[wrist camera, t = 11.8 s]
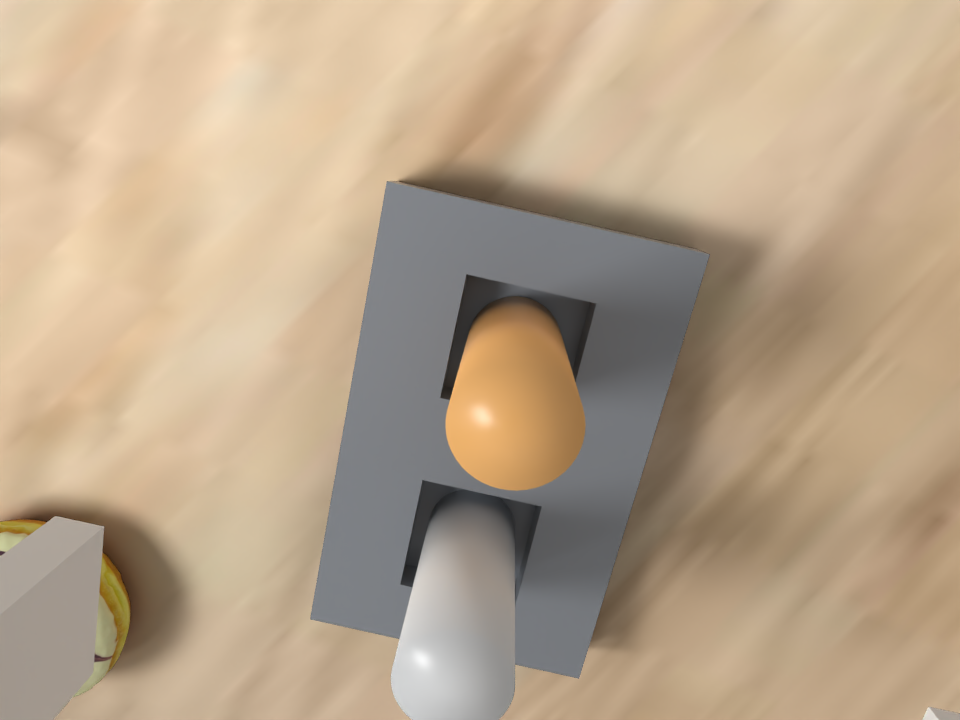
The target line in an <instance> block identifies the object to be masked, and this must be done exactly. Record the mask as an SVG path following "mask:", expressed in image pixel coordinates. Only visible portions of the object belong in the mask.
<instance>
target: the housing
mask: <svg viewBox="0 0 960 720" xmlns="http://www.w3.org/2000/svg"><path fill="white" fill-rule="evenodd" d="M709 256H710V254H708V253H705V252H702V251H700V250H697V249H694V248H690V247H685V246H681V245H677V244H672V243H668V242H663V241H659V240H654V239H650V238H646V237H641V236H637V235H632V234H628V233H624V232H619V231H615V230H610V229H606V228H601V227H597V226H593V225H588V224H584V223H579V222H575V221H571V220H566V219H562V218H557V217H553V216H548V215H544V214H540V213H535V212H531V211H526V210H522V209H518V208H513V207H509V206H504V205H500V204H495V203H491V202H487V201H482V200H478V199H473V198H469V197H465V196H460V195H456V194H451V193H447V192H442V191H438V190H434V189H429V188H425V187H420V186H416V185H412V184H407V183H403V182H398V181H387V184H386V189H385V195H384V201H383V207H382V212H381V218H380V224H379V229H378V235H377V241H376V247H375V252H374V258H373V264H372V269H371V275H370V281H369V287H368V292H367V298H366V304H365V309H364V315H363V321H362V326H361V332H360V338H359V344H358V349H357V355H356V361H355V366H354V372H353V378H352V384H351V389H350V395H349V401H348V406H347V412H346V418H345V424H344V429H343V435H342V441H341V446H340V452H339V458H338V463H337V469H336V475H335V481H334V486H333V492H332V498H331V503H330V509H329V515H328V521H327V526H326V532H325V538H324V543H323V549H322V555H321V561H320V566H319V572H318V578H317V583H316V589H315V595H314V601H313V606H312V612H311V618H310V619H311V620H316V621H321V622H325V623H330V624H334V625H339V626H343V627H348V628H352V629H357V630H361V631H366V632H370V633H375V634H379V635H384V636H389V637H393V638H398V639H400V635H401V631H402V627H403V623H404V619H405V615H406V611H407V607H408V603H409V599H410V595H411V591H412V587H413V583H414V579H415V576H416V572H417V568H418V564H419V560H420V556H421V552H422V548H423V544H424V540H425V536H426V532H427V528H428V524H429V520H430V516H431V513H432V511H433V509H434V507H435V506H436V504H437V503H438V502H439V501H440V500H441V499H442V498H443V497H445V496H446V495H448V494H450V493H452V492H454V491H457V490H461V489H465V490H469V491H474V492H478V493H483V494H487V495H492V496H496V497H498V498H500V499H501V500H502V501H503V502H504V503H505V504H506V505H507V507H508V508H509V510H510V511H511V513H512V516H513V519H514V524H515V665H520V666H525V667H529V668H534V669H538V670H543V671H547V672H552V673H556V674H561V675H565V676H570V677H574V678H579V677H580V673H581V670H582V667H583V664H584V661H585V657H586V654H587V651H588V648H589V644H590V641H591V638H592V635H593V631H594V628H595V625H596V622H597V618H598V615H599V612H600V609H601V605H602V602H603V599H604V596H605V592H606V589H607V586H608V583H609V580H610V576H611V573H612V570H613V567H614V563H615V560H616V557H617V554H618V550H619V547H620V544H621V541H622V537H623V534H624V531H625V528H626V524H627V521H628V518H629V515H630V511H631V508H632V505H633V502H634V499H635V495H636V492H637V489H638V486H639V482H640V479H641V476H642V473H643V469H644V466H645V463H646V460H647V456H648V453H649V450H650V447H651V443H652V440H653V437H654V434H655V430H656V427H657V424H658V421H659V418H660V414H661V411H662V408H663V405H664V401H665V398H666V395H667V392H668V388H669V385H670V382H671V379H672V375H673V372H674V369H675V366H676V362H677V359H678V356H679V353H680V349H681V346H682V343H683V340H684V337H685V333H686V330H687V327H688V324H689V320H690V317H691V314H692V311H693V307H694V304H695V301H696V298H697V294H698V291H699V288H700V285H701V281H702V278H703V275H704V272H705V268H706V265H707V262H708V259H709ZM510 296H520V297H526V298H529V299H532V300H534V301H537V302H538V303H540V304H542V305H543V306H544V307H546V308H547V309H548V310H549V311H550V312H551V313H552V315H553V316H554V318H555V319H556V321H557V323H558V326H559V329H560V332H561V335H562V339H563V342H564V345H565V349H566V352H567V355H568V359H569V362H570V366H571V369H572V372H573V376H574V379H575V382H576V386H577V389H578V392H579V396H580V399H581V403H582V406H583V410H584V415H585V424H586V426H585V436H584V441H583V444H582V447H581V450H580V452H579V454H578V455H577V457H576V459H575V460H574V462H573V463H572V465H571V466H570V467H569V468H568V469H567V470H566V471H565V472H564V473H563V474H561V475H560V476H559V477H558V478H556V479H554V480H553V481H551V482H549V483H547V484H545V485H543V486H540V487H537V488H533V489H528V490H518V491H516V490H504V489H499V488H495V487H492V486H489V485H487V484H484V483H482V482H480V481H479V480H477V479H475V478H474V477H473V476H471V475H470V474H469V473H467V472H466V471H465V470H464V469H463V468H462V467H461V465H460V464H459V463H458V461H457V460H456V458H455V457H454V455H453V453H452V451H451V449H450V447H449V444H448V440H447V436H446V414H447V409H448V405H449V402H450V398H451V395H452V391H453V388H454V384H455V380H456V377H457V373H458V370H459V366H460V363H461V359H462V355H463V352H464V348H465V345H466V341H467V338H468V334H469V331H470V327H471V325H472V322H473V320H474V319H475V317H476V316H477V314H478V313H479V312H480V311H481V310H482V309H483V308H484V307H485V306H487V305H488V304H489V303H491V302H493V301H495V300H498V299H500V298H504V297H510Z"/></svg>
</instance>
